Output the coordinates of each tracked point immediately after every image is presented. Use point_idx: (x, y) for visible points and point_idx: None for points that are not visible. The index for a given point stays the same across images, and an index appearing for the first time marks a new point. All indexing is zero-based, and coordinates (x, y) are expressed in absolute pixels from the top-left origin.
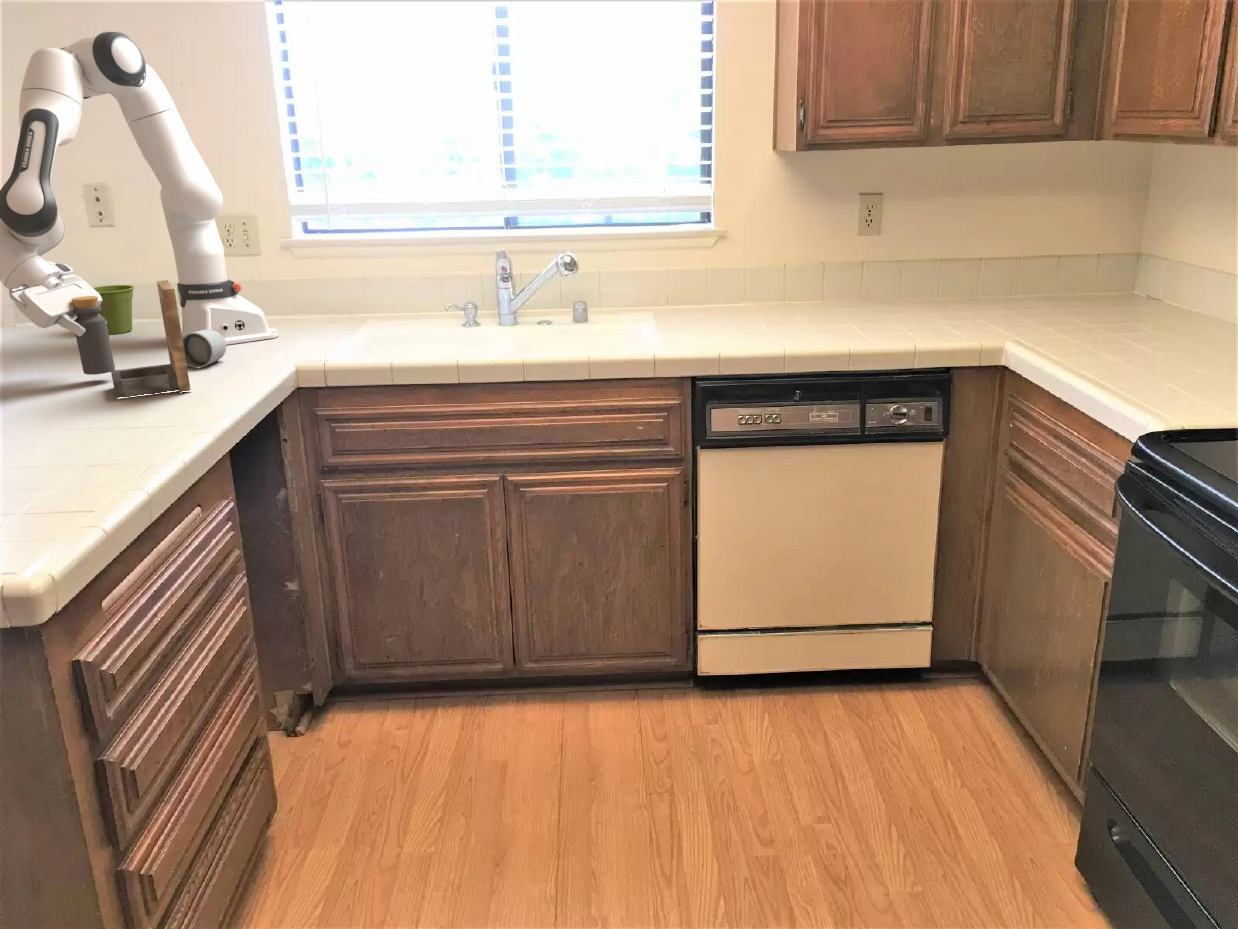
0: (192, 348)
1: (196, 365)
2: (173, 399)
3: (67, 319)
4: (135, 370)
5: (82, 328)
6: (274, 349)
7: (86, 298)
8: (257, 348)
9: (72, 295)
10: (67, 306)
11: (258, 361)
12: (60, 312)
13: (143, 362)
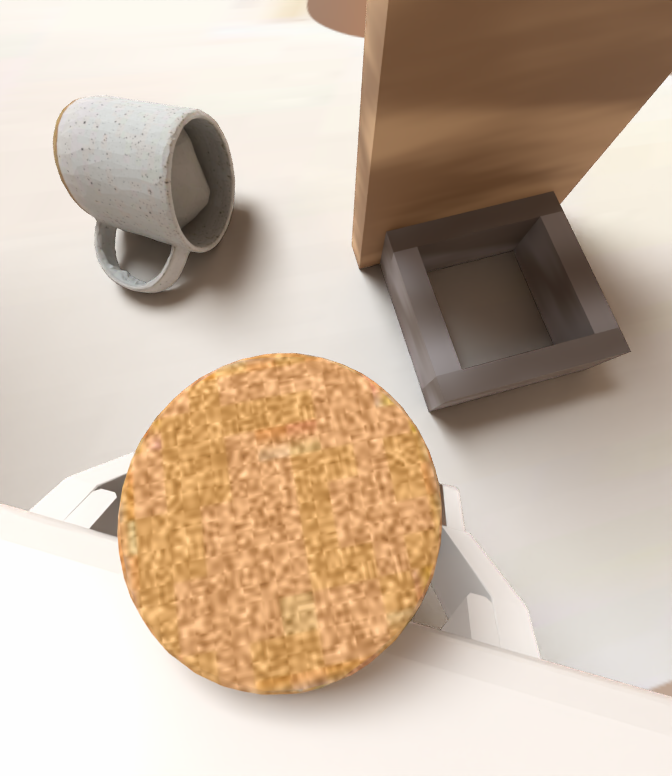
0: (175, 198)
1: (207, 230)
2: (604, 228)
3: (524, 607)
4: (444, 324)
5: (456, 497)
6: (50, 77)
7: (364, 462)
8: (9, 117)
9: (37, 765)
10: (430, 681)
11: (200, 98)
12: (623, 691)
13: (57, 403)
